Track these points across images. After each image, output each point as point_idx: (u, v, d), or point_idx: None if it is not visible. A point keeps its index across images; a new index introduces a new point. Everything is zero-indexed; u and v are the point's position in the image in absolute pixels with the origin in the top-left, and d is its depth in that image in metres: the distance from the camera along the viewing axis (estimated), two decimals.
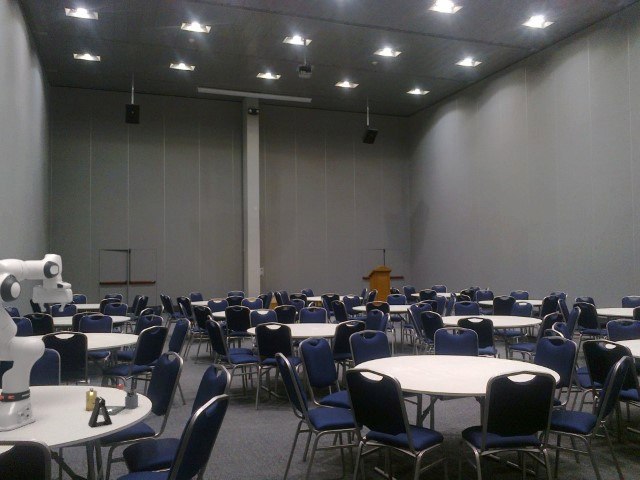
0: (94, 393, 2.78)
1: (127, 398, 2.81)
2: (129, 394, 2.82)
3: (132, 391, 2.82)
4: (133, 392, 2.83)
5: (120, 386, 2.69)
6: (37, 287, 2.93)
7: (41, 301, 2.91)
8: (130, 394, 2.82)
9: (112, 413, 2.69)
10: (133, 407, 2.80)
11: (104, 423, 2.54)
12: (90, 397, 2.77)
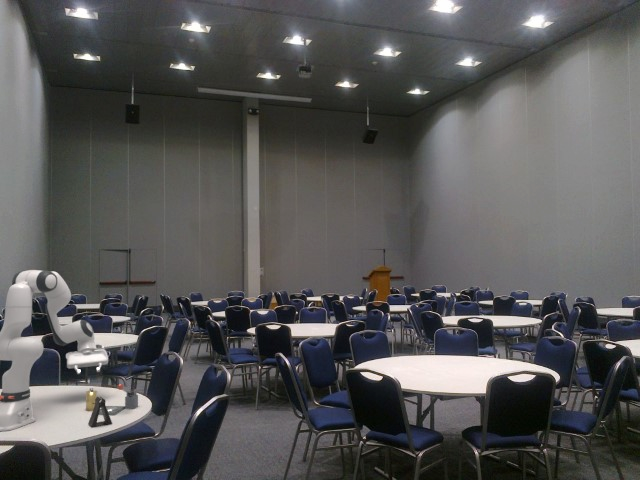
0: (94, 393, 2.78)
1: (127, 398, 2.81)
2: (129, 394, 2.82)
3: (132, 391, 2.82)
4: (133, 392, 2.83)
5: (120, 386, 2.69)
6: (70, 353, 2.95)
7: (77, 362, 2.91)
8: (130, 394, 2.82)
9: (112, 413, 2.69)
10: (133, 407, 2.80)
11: (104, 423, 2.54)
12: (90, 397, 2.77)
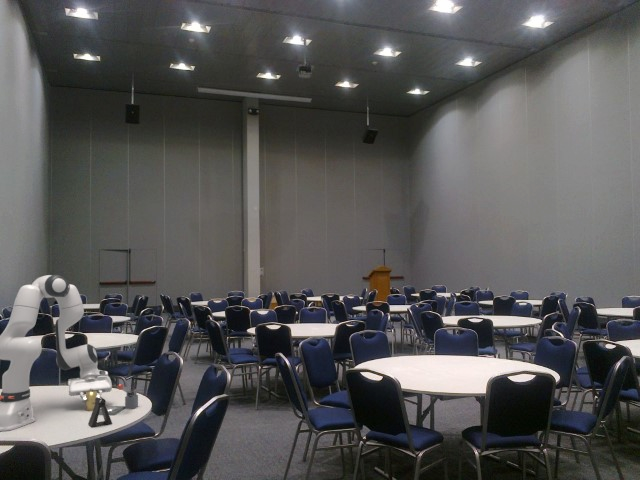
0: (94, 393, 2.78)
1: (127, 398, 2.81)
2: (129, 394, 2.82)
3: (132, 391, 2.82)
4: (133, 392, 2.83)
5: (120, 386, 2.69)
6: None
7: (80, 390, 2.79)
8: (130, 394, 2.82)
9: (112, 413, 2.69)
10: (133, 407, 2.80)
11: (104, 423, 2.54)
12: (90, 397, 2.77)
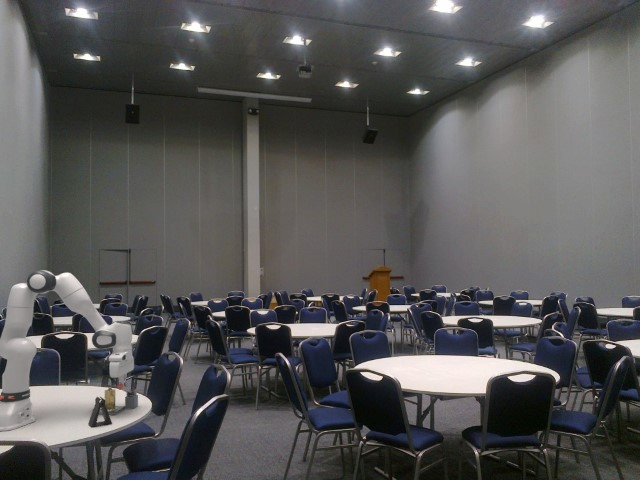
0: (113, 392, 2.74)
1: (127, 398, 2.81)
2: (129, 394, 2.82)
3: (132, 391, 2.82)
4: (133, 392, 2.83)
5: (120, 386, 2.69)
6: None
7: None
8: (130, 394, 2.82)
9: (112, 413, 2.69)
10: (133, 407, 2.80)
11: (104, 423, 2.54)
12: (108, 396, 2.73)
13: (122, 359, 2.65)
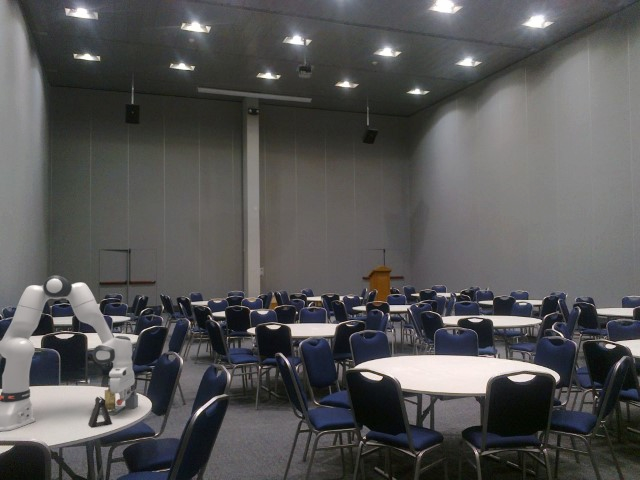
0: None
1: None
2: None
3: (132, 392, 2.81)
4: (133, 393, 2.82)
5: (119, 403, 2.67)
6: None
7: None
8: None
9: (112, 413, 2.69)
10: (133, 407, 2.80)
11: (104, 423, 2.54)
12: (108, 396, 2.73)
13: (122, 374, 2.65)
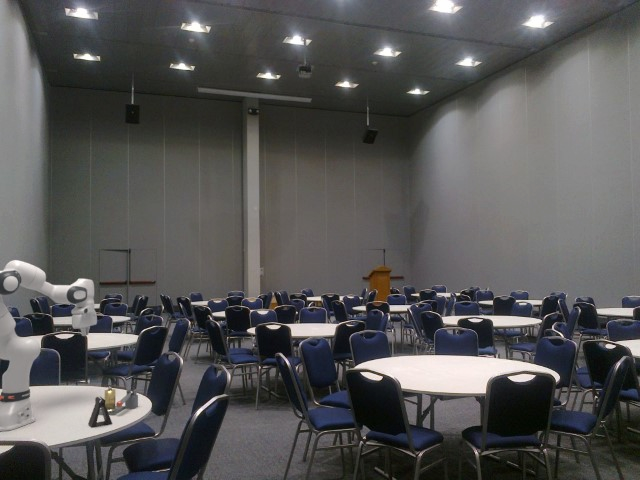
0: (113, 392, 2.74)
1: None
2: None
3: (132, 393, 2.81)
4: (133, 393, 2.82)
5: (119, 405, 2.67)
6: None
7: None
8: None
9: (112, 413, 2.69)
10: (133, 407, 2.80)
11: (104, 423, 2.54)
12: (108, 396, 2.73)
13: (84, 312, 2.87)
